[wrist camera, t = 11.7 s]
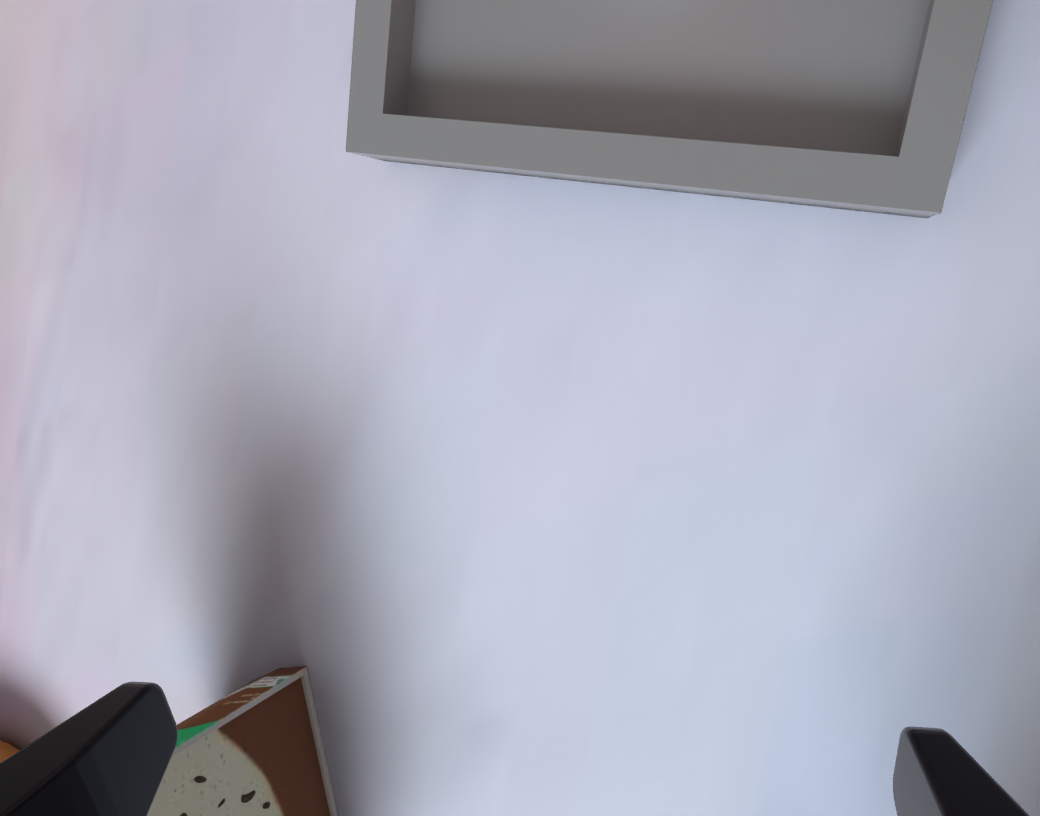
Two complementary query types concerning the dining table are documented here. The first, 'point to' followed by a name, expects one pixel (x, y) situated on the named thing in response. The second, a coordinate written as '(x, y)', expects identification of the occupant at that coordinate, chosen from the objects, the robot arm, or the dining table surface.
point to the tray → (676, 94)
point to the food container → (251, 755)
